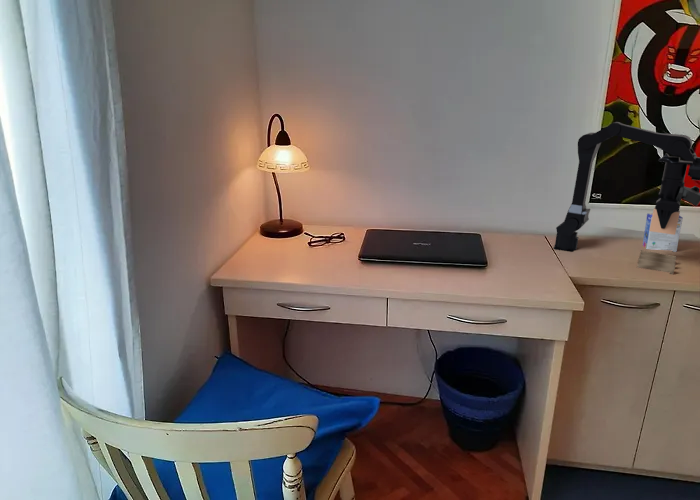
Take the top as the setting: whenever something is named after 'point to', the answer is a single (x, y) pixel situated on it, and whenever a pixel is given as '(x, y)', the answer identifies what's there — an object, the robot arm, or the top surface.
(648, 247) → the ink cartridge box
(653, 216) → the terracotta block
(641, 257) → the slot rack
